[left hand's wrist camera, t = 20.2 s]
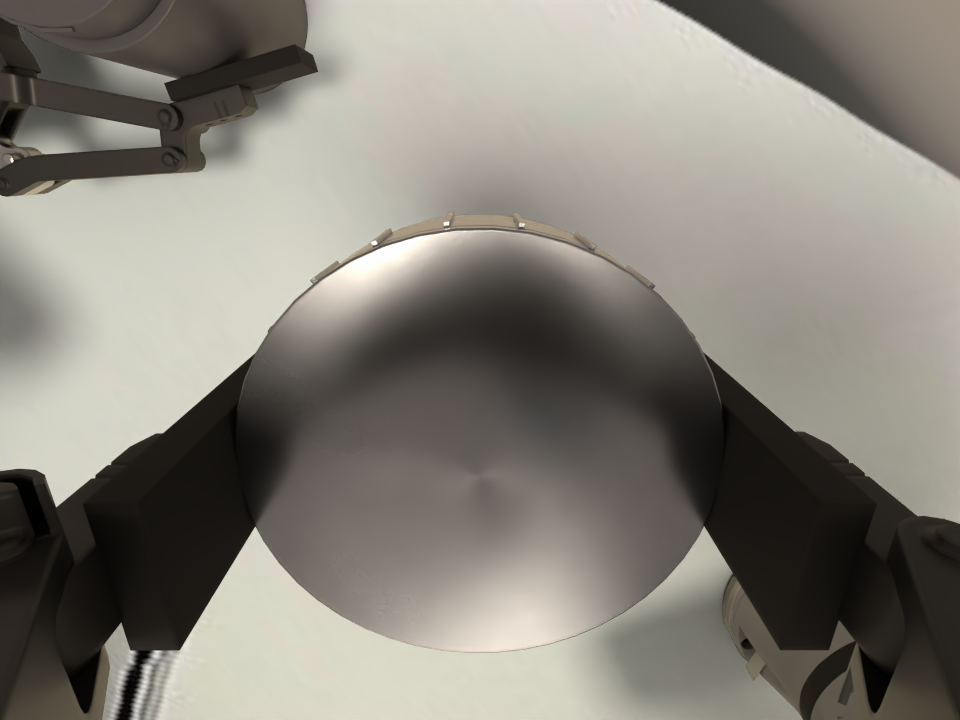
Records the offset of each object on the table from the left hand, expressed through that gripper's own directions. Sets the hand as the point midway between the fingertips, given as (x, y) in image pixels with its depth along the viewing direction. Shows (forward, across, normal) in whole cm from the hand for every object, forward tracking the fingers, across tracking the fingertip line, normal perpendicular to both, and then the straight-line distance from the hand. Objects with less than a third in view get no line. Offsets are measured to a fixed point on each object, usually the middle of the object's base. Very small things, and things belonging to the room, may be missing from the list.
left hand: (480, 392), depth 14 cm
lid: (-3, 0, 0) cm, 3 cm away
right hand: (+16, +9, -14) cm, 24 cm away
